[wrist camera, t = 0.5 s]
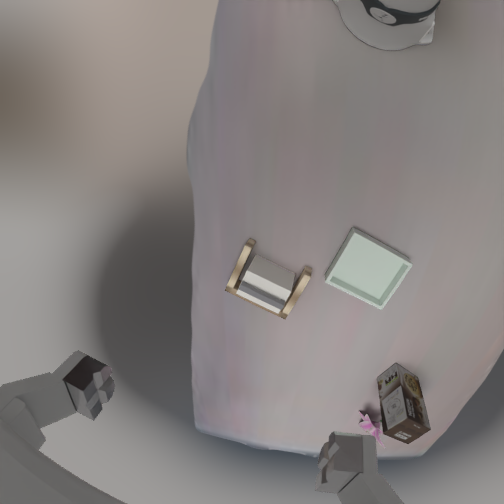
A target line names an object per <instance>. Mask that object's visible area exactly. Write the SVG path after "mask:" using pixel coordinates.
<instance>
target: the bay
mask: <svg viewBox="0 0 504 504" xmlns="http://www.w3.org/2000/svg"><path fill="white" fill-rule="evenodd" d="M255 242H256V241H254V240H252V239H249V240H248V242H247V243H246V245H245V247H244V249H243V251H242V253H241V255H240V258H239V260H238V262H237V264H236V267H235V269H234V271H233V273H232V275H231V278H230V280H229V282H228V284H227V287H226V289H225V291H227V292H229V293H231V294H233V295H235V296H237V297H239V298H242V299H244V300H246V301H248V302H250V303H252V304H254V305H256V306H258V307H260V308H262V309H264V310H266V311H268V312H271V313H273V314H275V315H277V316H279V317H281V318H283V319H286V317H287V316H288V314H289V313H290V311H291V309H292V308H293V306H294V304H295V303H296V301H297V300H298V298H299V296H300V295H301V293H302V291H303V290H304V288H305V286H306V285H307V283H308V281H309V280H310V278H311V271H312V269H311V268H309V267H307V266H305V268H304V270H303V272H302V273H301V275H300V277H299V279H298V280H297V282H296V284H295V285H294V287H293V289H292V291H291V293H290V295H289V297H288V298H287V300H286V302H285V305H284V307H283V309H282V310H280V312H279V314H277V313H275V312H273V311H271V310H269V309H267V308H265V307H263V306H261V305H259V304H257V303H254V302H252V301H250V300H248V299H246V298H244V297H242V296H240V295H238V294H236V293H237V290H238V288H239V286H240V284H241V282H242V281H240V280H238V278H239V276H240V274H241V272H242V270H243V268H244V265H245V263H246V261H247V259H248V257H249V255H250V253H251V250H252V248H253V246H254V244H255Z"/></svg>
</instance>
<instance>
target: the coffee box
mask: <svg viewBox="0 0 504 504" xmlns="http://www.w3.org/2000/svg"><path fill="white" fill-rule="evenodd" d="M377 381H378V389H379V397H380V406H381V416H382V427H383V434H385V435H387V436H389V437H392V438H394V439H397V440H399V441H402V442H404V443H407V444H409V443H411V442H412V441H414V440H416V439H417V438H419V437H420V436H422V435H423V434H425V433H426V432H428V431H429V430H431V428H430V424H429V419H428V415H427V411H426V406H425V402H424V399H423V395H422V391H421V387H420V384H419V380H418V377H416V376H415V375H413V374H412V373H410V372H409V371H407V370H406V369H404V368H403V367H401V366H400V365H398V364H397V363H395V364H394V365H393V366H392V367H390V368H389V369H388V370H387V371H385V372H384V373H383V374H381V375H380V376H379V377H378V378H377Z"/></svg>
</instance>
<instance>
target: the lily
mask: <svg viewBox="0 0 504 504" xmlns="http://www.w3.org/2000/svg"><path fill="white" fill-rule="evenodd" d="M359 413H360V411H359ZM360 415H361V417H362V419H363V420H364V421H363V422H360V423H359V425H360V427H361V428H362V429H364V430H365V431H366V432H370V433H371V435H372V436H374V437H375V438H376V440H377V441H378V443H379V444H380V445H381V446H382V447H384V448H385V446H384V445H383V443H382V441H381V439H380V436H379V433H380V435H383V431H381V430H380V423H381V421H382V420H381V421H380V422H374V421H370V419H369V416H368V415H367V414H366V415H365V417H364V416H363V415H362V414H361V413H360ZM385 449H386V448H385Z"/></svg>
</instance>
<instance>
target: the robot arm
mask: <svg viewBox="0 0 504 504" xmlns="http://www.w3.org/2000/svg"><path fill="white" fill-rule="evenodd" d="M333 2H334V3H335V4H336V5H337V6H338V8H339V10H340V14H341V17H342V19H343V21H344V23H345V25H346V26H347V28H348V29H349V30H350V31H351V32H352V33H353V34H354V35H355V36H356V37H357V38H359V39H360V40H361V41H363V42H365V43H366V44H368V45H371V46H373V47H376V48H379V49H383V50H401V49H405V48H407V47H410V46H412V45H416V44H417V45H428V44H430V43H431V42H432V40H433V32H434V25H435V11H436V9H437V7H438V5H439V3H440V0H333ZM427 33H428V34H427ZM111 373H112V370H111V367H110V366H108V365H106V364H104V363H102V362H100V361H98V360H96V359H94V358H92V357H90V356H89V355H87V354H85V353H83V352H81V351H79V350H78V351H75V352H74V353H73V354H72V355H71V356H70V357H69V358H68V359H67V360H66V361H65V362H64V363H63V364H61V365H60V367H58V368H57V369H56V370H55V371H54V372H53V373H52V374H51V373H50V372H49V373H45V374H42V375H38V376H34V377H30V378H26V379H23V380H19V381H15V382H11V383H7V384H3V385H2V386H1V387H0V504H127V503H124V502H122V501H120V500H118V499H116V498H114V497H112V496H110V495H109V494H107V493H105V492H103V491H101V490H99V489H97V488H96V487H94V486H92V485H90V484H88V483H87V482H85V481H84V480H82V479H80V478H79V477H77V476H75V475H74V474H72V473H71V472H69V471H67V470H66V469H64V468H63V467H61V466H60V465H58V464H57V463H56V462H54V461H53V460H51V459H50V458H48V457H47V456H45V455H44V454H43V453H41V452H40V451H39V449H40V447H41V446H42V445H43V443H44V442H45V441H46V440H45V436H44V435H43V433H42V432H41V430H40V428H42V427H45V426H47V425H50V424H52V423H54V422H56V421H59V420H61V419H63V418H66V417H68V416H70V415H72V414H74V413H76V411H77V412H79V413H80V414H82V415H84V416H86V417H88V418H90V419H92V420H95V418H96V417H97V416H98V414H99V413H100V412H101V410H102V404H103V403H106V402H108V401H109V400H110V398H111V397H112V395H113V392H114V389H115V384H114V380H113V379H112V377H111V376H110V375H111ZM318 467H319V468H320V470H321V471H320V472H319V473H318V475H317V476H316V486H315V491H320V492H329V493H337V495H338V497H339V499H340V501H341V503H342V504H404V503H403V502H402V500H401V499H400V498H399V496H398V495H397V494H396V493H395V491H394V490H393V489H392V487H391V486H390V485H389V483H388V482H387V481H386V479H385V478H384V477H383V475H382V474H378V468H377V451H376V438H375V437H374V436H371V435H360V434H352V433H343V432H332V433H331V434H330V436H329V442H326V443H325V444H324V445H323V447H322V449H321V452H320V454H319V459H318Z"/></svg>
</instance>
